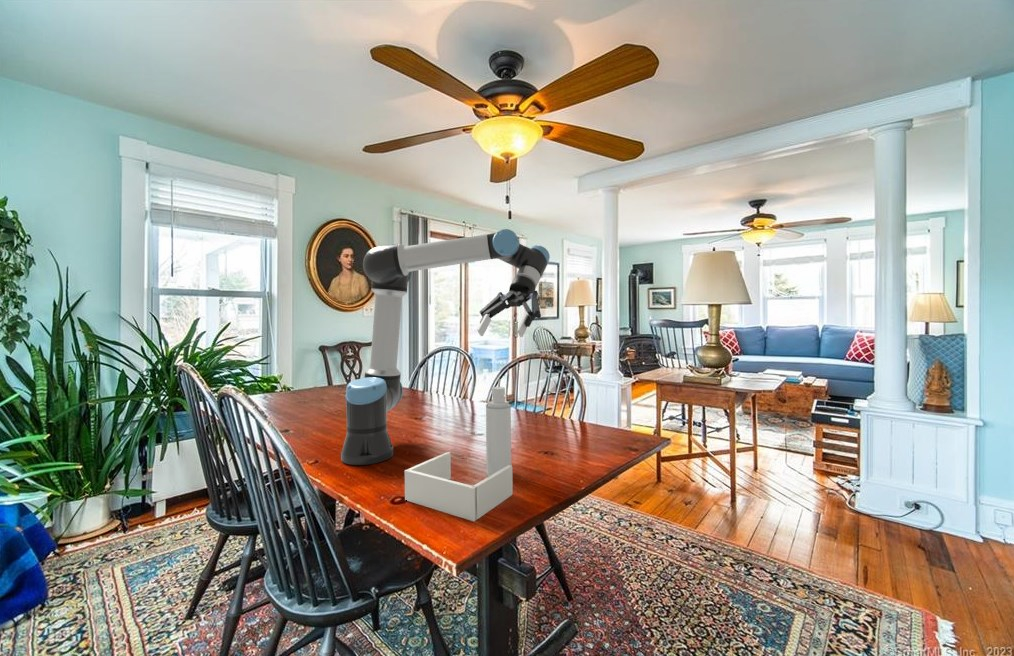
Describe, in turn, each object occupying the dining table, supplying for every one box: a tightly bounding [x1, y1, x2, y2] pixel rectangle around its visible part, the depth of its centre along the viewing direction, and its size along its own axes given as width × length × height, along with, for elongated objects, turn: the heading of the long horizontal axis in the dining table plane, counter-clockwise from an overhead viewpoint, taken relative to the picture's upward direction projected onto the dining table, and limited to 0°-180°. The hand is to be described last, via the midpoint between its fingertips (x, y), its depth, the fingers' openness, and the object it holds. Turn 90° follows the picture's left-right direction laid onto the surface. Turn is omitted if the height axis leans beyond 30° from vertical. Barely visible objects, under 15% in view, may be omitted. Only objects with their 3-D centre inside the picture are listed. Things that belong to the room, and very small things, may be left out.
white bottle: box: [485, 386, 512, 477], centre depth 115 cm, size 7×7×25 cm
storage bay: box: [404, 451, 514, 522], centre depth 101 cm, size 20×16×7 cm
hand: (499, 333), depth 122 cm, fingers open, 13 cm apart
